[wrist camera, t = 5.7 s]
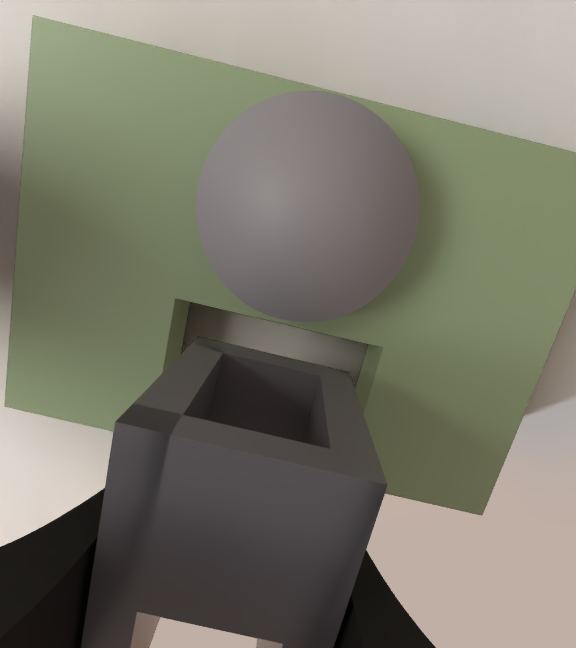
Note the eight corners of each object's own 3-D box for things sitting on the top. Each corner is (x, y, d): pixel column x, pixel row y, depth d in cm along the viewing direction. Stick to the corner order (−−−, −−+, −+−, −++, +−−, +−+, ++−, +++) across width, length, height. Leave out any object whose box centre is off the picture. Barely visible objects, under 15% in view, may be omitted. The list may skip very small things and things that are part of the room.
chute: (158, 542, 15) (66, 744, 9) (198, 336, 13) (114, 421, 7) (291, 571, 15) (285, 790, 9) (349, 372, 13) (387, 484, 7)
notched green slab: (43, 383, 19) (-25, 424, 15) (74, 48, 15) (-2, -12, 12) (459, 478, 19) (499, 543, 15) (577, 174, 16) (666, 158, 12)
